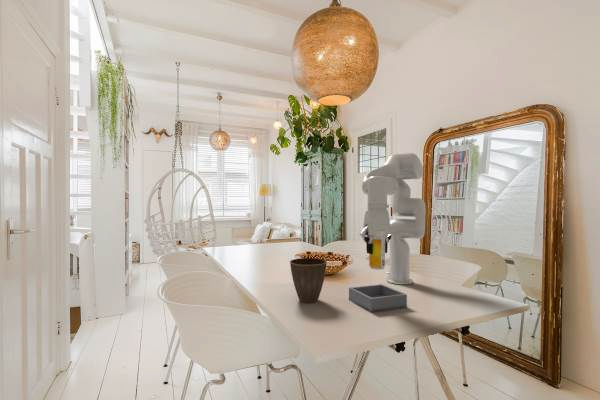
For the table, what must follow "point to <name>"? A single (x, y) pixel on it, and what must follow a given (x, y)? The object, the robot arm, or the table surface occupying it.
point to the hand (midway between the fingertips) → (377, 252)
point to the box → (377, 298)
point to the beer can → (378, 251)
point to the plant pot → (308, 278)
